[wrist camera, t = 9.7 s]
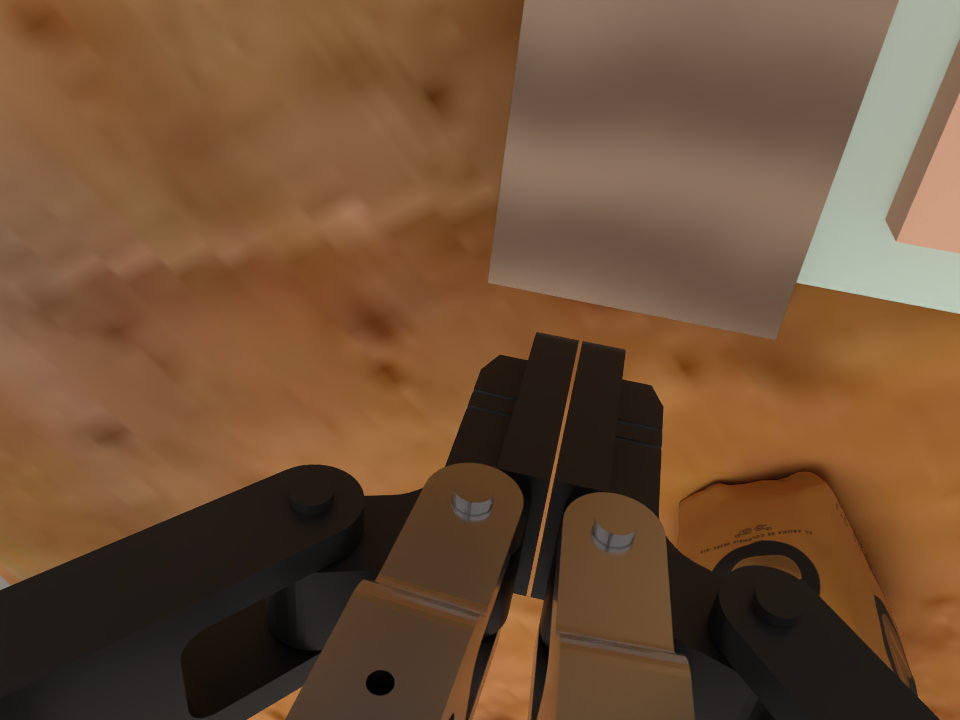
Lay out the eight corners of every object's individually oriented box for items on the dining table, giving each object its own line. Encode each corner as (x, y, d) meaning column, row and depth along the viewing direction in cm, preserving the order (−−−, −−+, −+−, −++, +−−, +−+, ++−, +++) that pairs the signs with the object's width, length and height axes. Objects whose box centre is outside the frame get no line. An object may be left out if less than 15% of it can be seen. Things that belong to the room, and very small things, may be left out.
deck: (570, -231, 29) (555, -238, 25) (933, -185, 27) (967, -186, 24) (504, 243, 39) (487, 282, 35) (767, 294, 37) (775, 340, 34)
